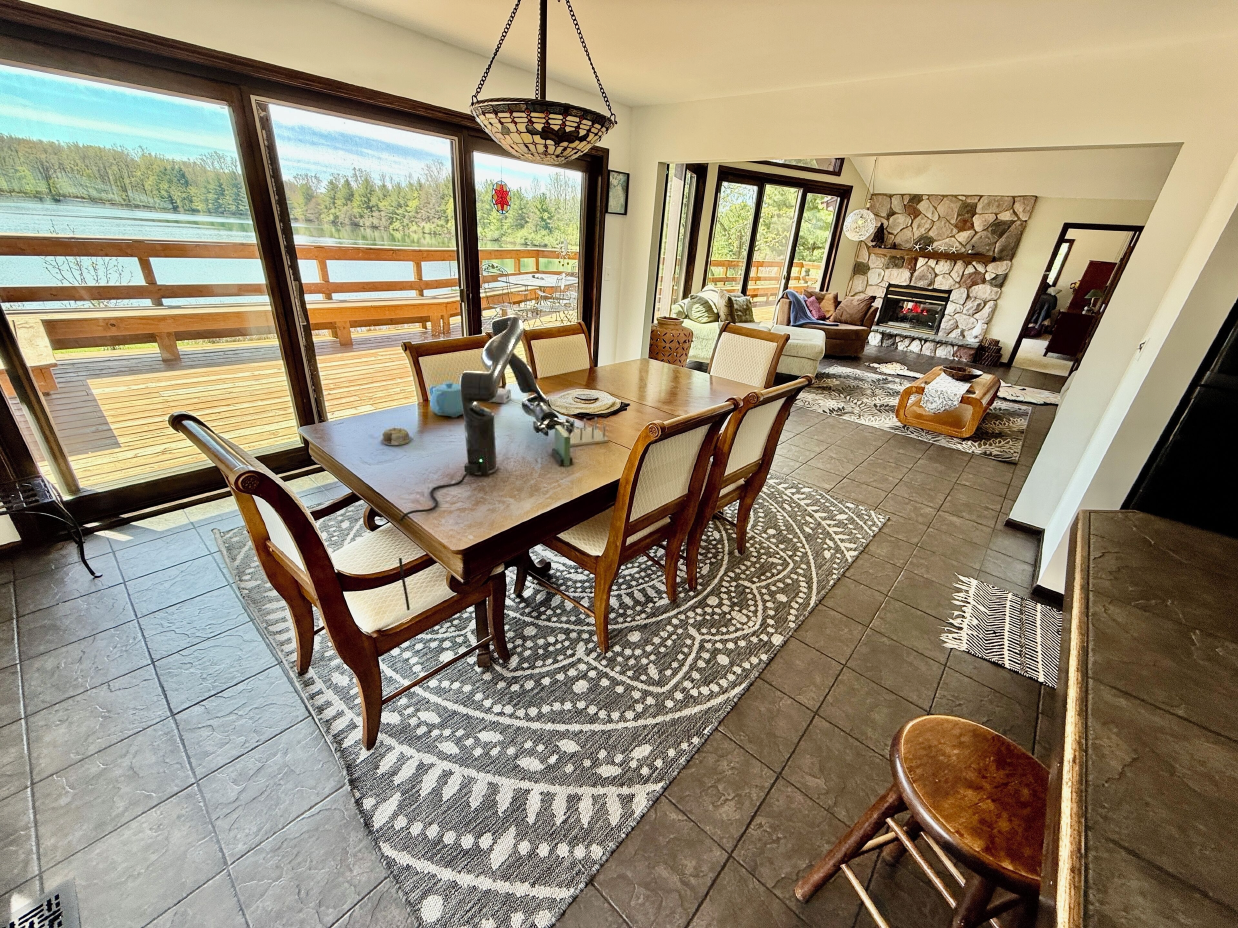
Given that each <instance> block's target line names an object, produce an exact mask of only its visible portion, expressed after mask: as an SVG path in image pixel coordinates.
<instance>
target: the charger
mask: <svg viewBox="0 0 1238 928" xmlns="http://www.w3.org/2000/svg"><path fill="white" fill-rule="evenodd" d="M511 398H512V389H510V388H501V387H499V389H498V392H497V395H496V397H495V399H494V400H493V401H491V402H490V403H497V404H506V403H507V402H509V401H510V400H511Z"/></svg>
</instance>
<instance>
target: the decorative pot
mask: <svg viewBox="0 0 1238 928" xmlns="http://www.w3.org/2000/svg"><path fill="white" fill-rule="evenodd" d="M428 390H429V394H430V396H431V397H430V399H429V402H430V404H429V405H430V409H431V411H432V412H433V413H435V414H437V416H447V417H450V418H458V416H461V415H463V409H462V401H461V395H460V383H454V382H453V381H445V382H444V383H442V384H439V385H436V384H434V385H431V386H430V387H429V389H428Z"/></svg>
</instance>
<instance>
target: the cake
mask: <svg viewBox="0 0 1238 928" xmlns="http://www.w3.org/2000/svg"><path fill="white" fill-rule="evenodd" d="M411 440H412V439H411V437H410V433H409V431H408V430H407V429H405V428H398V427H393V428H388V429H385V430H384V431H383V432H382V437H381V443H383V444H384V445H387V446H402V445H405V444H408V443H410V442H411Z"/></svg>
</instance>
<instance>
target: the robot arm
mask: <svg viewBox="0 0 1238 928" xmlns="http://www.w3.org/2000/svg"><path fill="white" fill-rule="evenodd" d="M524 328H525V327H524V323H523V321H522V320H521V318H520V317H518V316H517V315H507V316H505V317H500V318H496V319H493V320H492V321H491V324H490V330H491V333H492V336H493V338H491V339H490V340H489V341H487V343H486V344H485V345H484V348H483V350H482V351H481V355H480V361H481V364H482V366H483V367H484V369H485V371H475V370H466V371H463V372H462V373H461V374H460V377H459V384H460V395H461V401H462V409H463V414H462V415H463V423H464V433H465V434H464V435H465V446H466V459H467V462H465V464H464V466H463V467H464V472H465V473H464V475H463V476H462V477H461V479H460V480H458V481H457V482H454V483H450V484H442V485H437V486H434V487H432V488H431V490H430V491H429V496H430V497H431V499H432V500H433V501H434V505H433V506H431V507H430V508H425V509H423V508H422V509H414V510H410V511H407V512H406V513H404V514H402V516H400V518H399V519H398V521H399V522H402V521H403V520H404V519H405V518H406V517H407V516H409V515H411V514H418V513H426V512H432V511H434V510H436V509H437V507H438V506H439V501H438V500H437V498H436V497H435V495H434V494H433V492H434V491H436V490H438V489H443V488H448V487H453V486H458V485H460V484H462V483H463V482H464V481H465V479H466V477H467V476H468V475H470V476H480V477H481V476H482V477H488V476H489V475H492V474H494V473H496V472H497V470H498V464H497V463H498V462H497V447H496V446H497V445H496V429H495V428H496V427H495V426H496V425H495V414H494V412H493V410H490V409H489V408H486V407H484V406H483V405H481V404H479V403H492V402H491V401H493V400H494V399H495V397H496V395H497V392H498V389H499V388H500V385H501V382H502V378H503V376H504V373H505V371H506V368H507V367H508V366H509V368H510V370H511V371H512V373H513V376H514V378H515V381H516V384H517V386H518V389H519V390H520V393H522V394H531V393H533V394H532V395H530V396H528V397H526V398H524V399H523V400H522V401H521V409H522V411H523V412H524V413H525V415H527V416H529V417H531V418H534V419H535V420H533V421H532V429H533V431H534V432H535V434H540V433H541V434H542V436H545V437H546V438H547V437H549V435H550V434H549V432H550V431H553V430H555V426H558V425H560V426H561V427H562V428H563V429H564V430H566V431H567V432H568V433H569V434H571V433H572V430H573V429H574V428H573V427H574V423H573V420H571V419H570V418H568V417H567V418H565V420H562V419H560V417H559V415H558V414H557V413H556V412H555V411H554V409H553V408H551V407H550V406H549V401H548V399H547V397H546V395H545V394H544V393H543V392H542V391H541V389H540V387H539V386H538V384H537V381H536V379H535V376H534V373H533V371H532V369H531V367H530V366H529V365H528V364H527V363H526V362H525V361H524V360H523V359H522V358H520V357H519V355H517V354H516V353H515V349H516V348H517V346H518V345H519V343H520V342H521V341H522V339H523V338H524V337H523V336H524V334H525V333H524V332H525V329H524ZM398 563H399V570H400V571H399V572H400V576H401V575H404V577H403V578H401V582H402V587H403V594H404V598H405V605H406V610H407V611H410V609H411V608H410V601H409V595H408V590H407V585H406V579H405V574H404V573H405V572H404V567H403V558H402V557H398Z"/></svg>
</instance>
